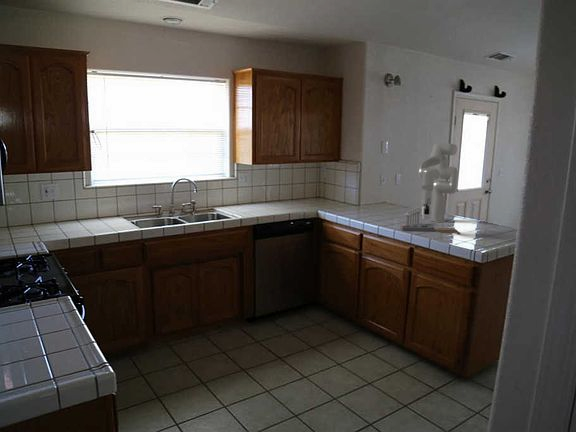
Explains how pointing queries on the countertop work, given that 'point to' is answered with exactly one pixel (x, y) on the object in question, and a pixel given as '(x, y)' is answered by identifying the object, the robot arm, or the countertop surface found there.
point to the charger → (425, 216)
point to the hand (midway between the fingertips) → (425, 213)
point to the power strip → (417, 228)
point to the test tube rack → (412, 216)
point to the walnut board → (448, 230)
